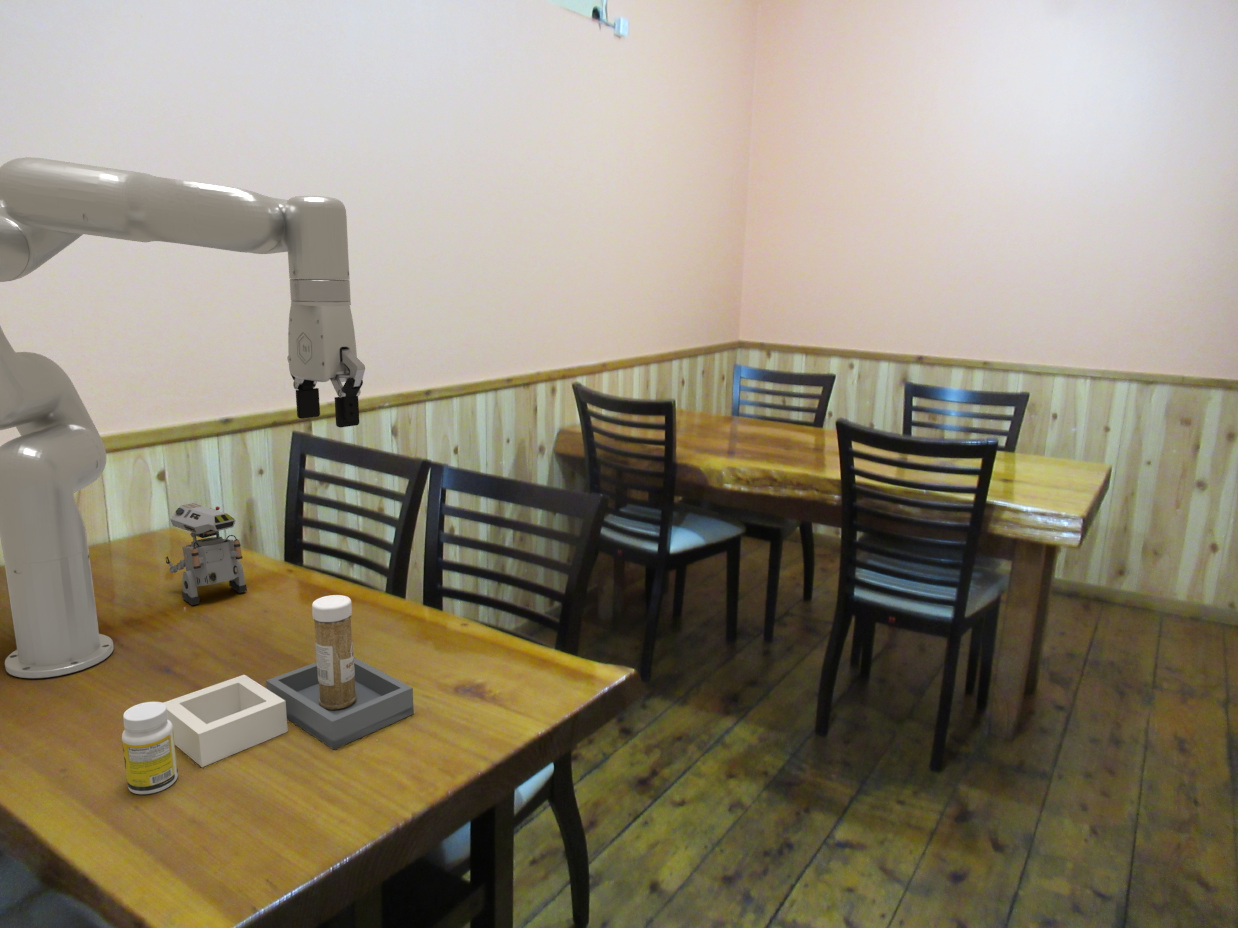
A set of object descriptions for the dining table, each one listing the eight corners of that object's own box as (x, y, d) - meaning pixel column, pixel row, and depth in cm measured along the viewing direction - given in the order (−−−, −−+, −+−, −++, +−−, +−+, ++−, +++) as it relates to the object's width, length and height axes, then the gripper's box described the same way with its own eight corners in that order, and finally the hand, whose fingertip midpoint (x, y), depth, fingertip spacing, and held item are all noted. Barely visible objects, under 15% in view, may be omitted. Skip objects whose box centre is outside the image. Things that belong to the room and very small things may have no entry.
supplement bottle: (140, 770, 92) (132, 699, 90) (185, 768, 92) (178, 698, 90) (118, 796, 87) (110, 722, 85) (166, 795, 87) (158, 721, 86)
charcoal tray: (268, 705, 106) (266, 680, 105) (345, 675, 114) (344, 651, 113) (334, 749, 96) (332, 721, 96) (413, 713, 105) (412, 687, 104)
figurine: (223, 578, 149) (216, 496, 146) (251, 595, 142) (244, 509, 138) (168, 591, 143) (159, 505, 140) (194, 609, 135) (185, 520, 132)
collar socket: (163, 734, 99) (159, 703, 98) (246, 703, 106) (244, 674, 105) (202, 767, 92) (198, 734, 92) (287, 731, 100) (285, 700, 99)
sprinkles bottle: (361, 704, 104) (356, 602, 101) (323, 714, 102) (317, 610, 99) (350, 689, 108) (345, 590, 105) (314, 698, 106) (307, 597, 103)
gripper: (261, 292, 114) (269, 417, 118) (330, 296, 104) (338, 433, 107) (311, 292, 120) (318, 411, 124) (383, 296, 109) (388, 426, 113)
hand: (327, 421), depth 115 cm, fingers open, 9 cm apart
